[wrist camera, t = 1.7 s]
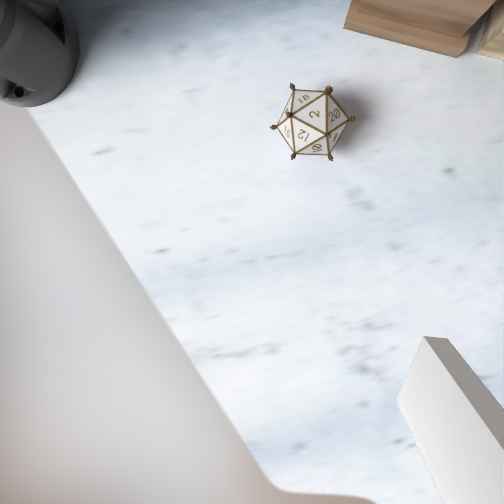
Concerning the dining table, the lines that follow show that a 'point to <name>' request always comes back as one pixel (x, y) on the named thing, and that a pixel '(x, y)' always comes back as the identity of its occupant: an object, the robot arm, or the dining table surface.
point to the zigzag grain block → (494, 33)
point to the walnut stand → (418, 22)
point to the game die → (312, 122)
